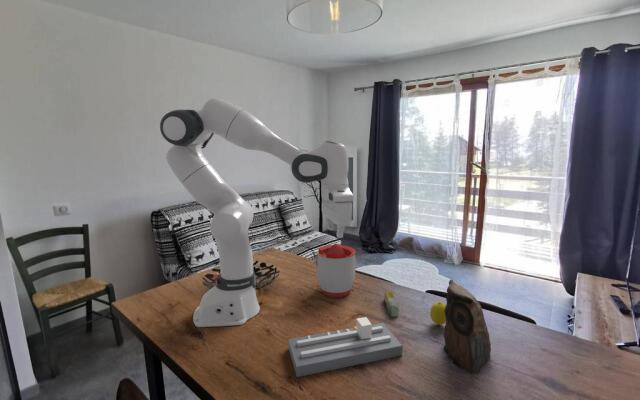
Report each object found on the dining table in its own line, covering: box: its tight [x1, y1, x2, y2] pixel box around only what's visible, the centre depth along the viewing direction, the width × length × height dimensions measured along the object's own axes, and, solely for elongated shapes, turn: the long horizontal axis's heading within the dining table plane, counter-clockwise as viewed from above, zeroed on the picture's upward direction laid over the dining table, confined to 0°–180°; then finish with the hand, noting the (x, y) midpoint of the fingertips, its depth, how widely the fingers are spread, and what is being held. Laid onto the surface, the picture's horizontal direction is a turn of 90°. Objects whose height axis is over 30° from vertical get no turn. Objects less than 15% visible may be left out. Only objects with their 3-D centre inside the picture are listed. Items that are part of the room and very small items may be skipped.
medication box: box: [383, 290, 400, 318], centre depth 115 cm, size 12×3×4 cm, turn 0°
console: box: [287, 322, 403, 378], centre depth 91 cm, size 30×12×4 cm, turn 106°
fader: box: [355, 316, 373, 341], centre depth 92 cm, size 3×4×5 cm
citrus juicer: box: [311, 243, 357, 298], centre depth 127 cm, size 16×17×20 cm
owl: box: [443, 279, 492, 375], centre depth 88 cm, size 13×13×20 cm
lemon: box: [429, 301, 446, 326], centre depth 103 cm, size 6×6×8 cm
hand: (335, 233), depth 106 cm, fingers open, 8 cm apart
